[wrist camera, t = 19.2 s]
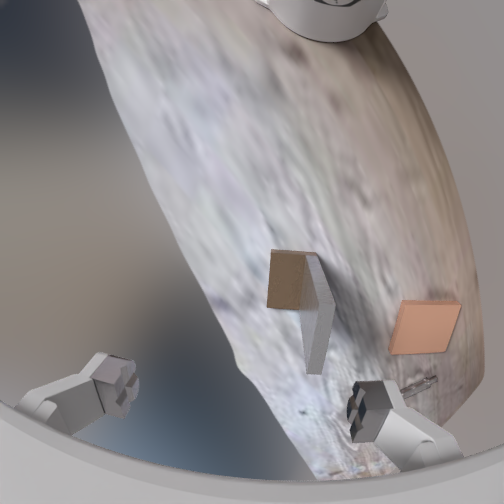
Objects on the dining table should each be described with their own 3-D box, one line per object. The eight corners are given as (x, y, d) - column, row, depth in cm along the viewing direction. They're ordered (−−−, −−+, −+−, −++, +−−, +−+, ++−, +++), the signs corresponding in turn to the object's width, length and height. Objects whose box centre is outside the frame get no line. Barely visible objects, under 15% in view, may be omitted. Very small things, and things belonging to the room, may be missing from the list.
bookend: (271, 249, 41) (267, 300, 26) (315, 252, 41) (335, 304, 26) (267, 302, 43) (261, 371, 29) (308, 305, 43) (321, 374, 28)
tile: (405, 304, 40) (461, 305, 39) (400, 298, 42) (455, 299, 41) (390, 354, 43) (444, 351, 42) (387, 347, 45) (440, 345, 44)
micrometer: (368, 423, 50) (370, 432, 48) (361, 403, 49) (364, 412, 46) (435, 393, 47) (440, 401, 45) (433, 371, 46) (438, 379, 43)
